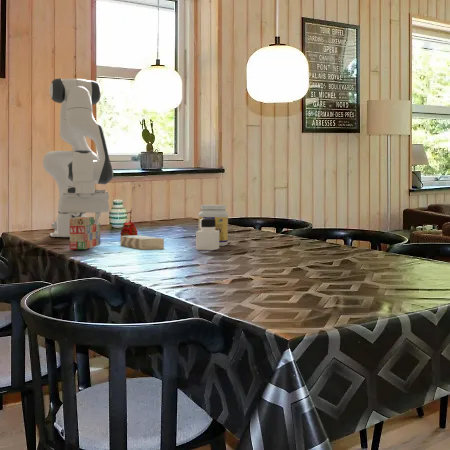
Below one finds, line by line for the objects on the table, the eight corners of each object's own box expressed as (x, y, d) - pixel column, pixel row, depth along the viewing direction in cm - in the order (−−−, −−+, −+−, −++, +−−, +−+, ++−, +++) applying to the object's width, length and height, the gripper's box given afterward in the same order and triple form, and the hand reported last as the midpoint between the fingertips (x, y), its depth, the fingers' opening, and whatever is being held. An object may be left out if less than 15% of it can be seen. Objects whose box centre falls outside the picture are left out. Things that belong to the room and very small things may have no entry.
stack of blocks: (86, 244, 275) (86, 215, 274) (100, 245, 274) (100, 215, 274) (69, 249, 254) (69, 217, 253) (85, 249, 253) (84, 217, 252)
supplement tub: (201, 247, 261) (201, 205, 261) (196, 245, 273) (196, 204, 273) (230, 246, 264) (230, 205, 263) (224, 244, 276) (224, 204, 275)
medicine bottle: (219, 249, 254) (219, 218, 253) (213, 250, 247) (213, 218, 246) (202, 248, 256) (202, 217, 255) (195, 249, 249) (195, 218, 249)
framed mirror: (120, 245, 270) (120, 235, 270) (140, 244, 275) (140, 235, 274) (142, 249, 250) (142, 239, 250) (163, 248, 255) (163, 238, 255)
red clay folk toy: (117, 243, 282) (117, 208, 282) (125, 242, 289) (125, 208, 288) (132, 243, 280) (132, 208, 279) (141, 242, 286) (140, 208, 285)
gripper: (106, 190, 271) (106, 223, 271) (56, 190, 261) (57, 224, 261) (111, 189, 265) (111, 223, 265) (60, 189, 255) (61, 224, 255)
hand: (84, 224), depth 263 cm, fingers open, 8 cm apart
